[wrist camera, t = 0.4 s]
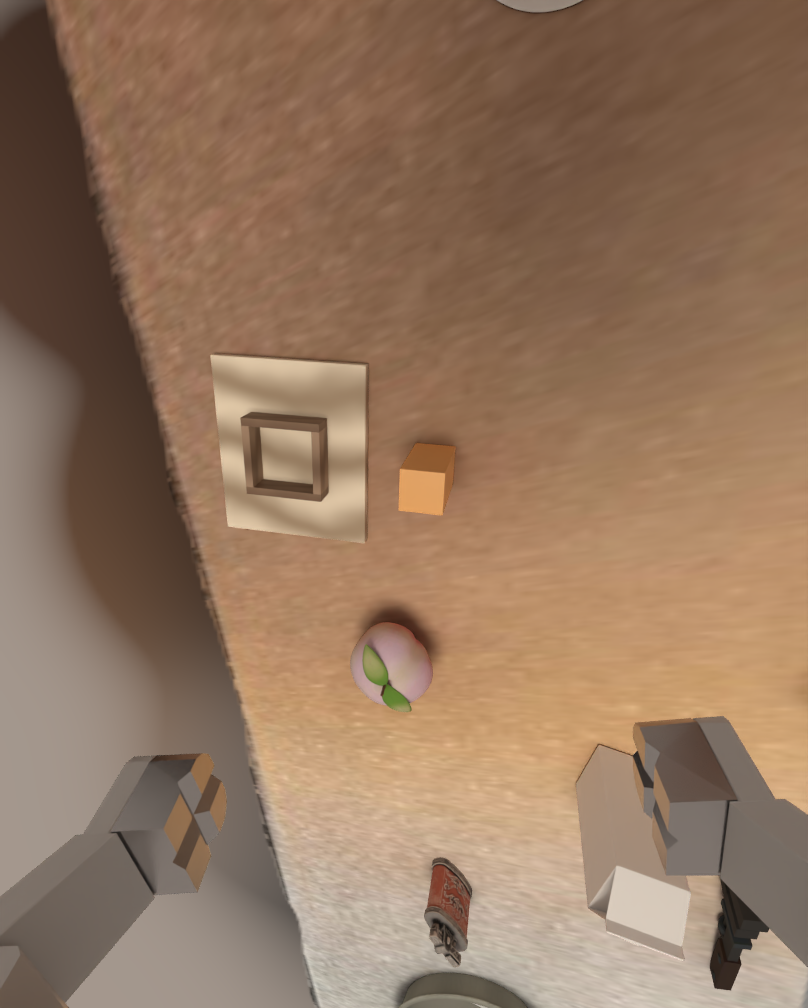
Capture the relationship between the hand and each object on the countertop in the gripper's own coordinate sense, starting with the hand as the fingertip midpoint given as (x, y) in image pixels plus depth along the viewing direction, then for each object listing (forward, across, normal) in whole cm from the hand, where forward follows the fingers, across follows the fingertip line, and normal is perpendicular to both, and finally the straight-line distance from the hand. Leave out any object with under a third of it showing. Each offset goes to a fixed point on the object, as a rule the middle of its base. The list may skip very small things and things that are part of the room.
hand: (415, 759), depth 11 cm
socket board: (+48, +16, +9) cm, 51 cm away
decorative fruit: (+45, +9, +33) cm, 57 cm away
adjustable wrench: (+38, -27, +76) cm, 89 cm away
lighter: (+42, +8, +74) cm, 85 cm away
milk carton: (+41, -14, +53) cm, 68 cm away
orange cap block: (+46, +2, +12) cm, 47 cm away
